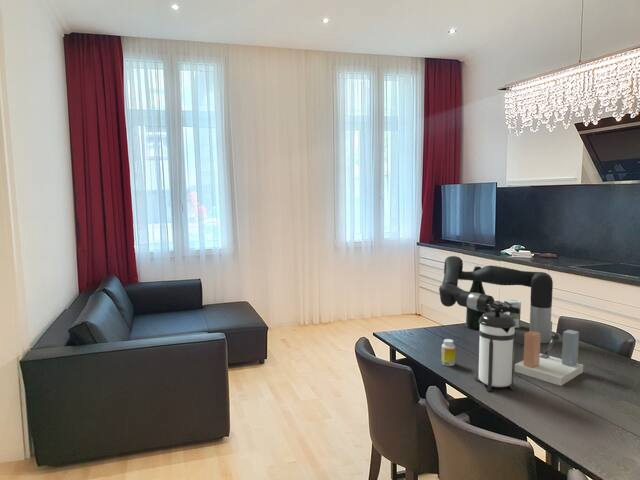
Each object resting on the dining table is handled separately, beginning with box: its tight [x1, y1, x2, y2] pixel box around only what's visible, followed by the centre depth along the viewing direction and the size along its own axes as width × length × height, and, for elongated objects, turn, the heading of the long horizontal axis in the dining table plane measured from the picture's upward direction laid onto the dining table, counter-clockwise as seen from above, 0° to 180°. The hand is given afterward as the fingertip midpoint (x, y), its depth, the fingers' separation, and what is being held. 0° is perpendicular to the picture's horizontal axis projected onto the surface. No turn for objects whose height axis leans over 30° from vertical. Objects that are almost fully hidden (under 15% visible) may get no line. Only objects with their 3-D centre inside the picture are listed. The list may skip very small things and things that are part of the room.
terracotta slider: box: [523, 331, 541, 368], centre depth 180 cm, size 4×5×13 cm
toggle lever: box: [543, 333, 560, 355], centre depth 187 cm, size 3×3×10 cm
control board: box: [514, 353, 584, 387], centre depth 182 cm, size 18×20×4 cm
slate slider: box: [561, 329, 580, 366], centre depth 181 cm, size 4×5×13 cm
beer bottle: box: [465, 265, 487, 331], centre depth 241 cm, size 10×10×33 cm
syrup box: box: [505, 299, 522, 329], centre depth 242 cm, size 6×6×14 cm
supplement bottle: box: [440, 338, 456, 367], centre depth 191 cm, size 6×6×10 cm
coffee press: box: [474, 307, 517, 392], centre depth 170 cm, size 17×16×30 cm
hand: (519, 311), depth 184 cm, fingers closed
